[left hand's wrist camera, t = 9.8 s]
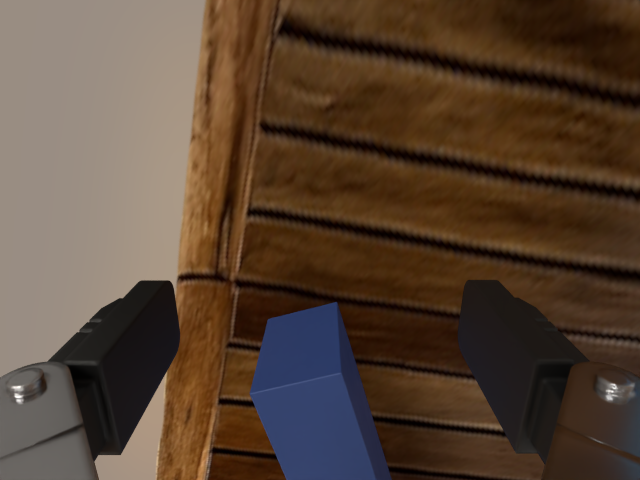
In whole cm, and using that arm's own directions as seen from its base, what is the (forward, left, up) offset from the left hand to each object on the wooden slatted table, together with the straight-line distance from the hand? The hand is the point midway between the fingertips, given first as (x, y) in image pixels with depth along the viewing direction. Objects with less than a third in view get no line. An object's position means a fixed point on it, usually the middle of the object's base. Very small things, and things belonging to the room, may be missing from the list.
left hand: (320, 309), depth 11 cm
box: (+22, +8, -20) cm, 31 cm away
